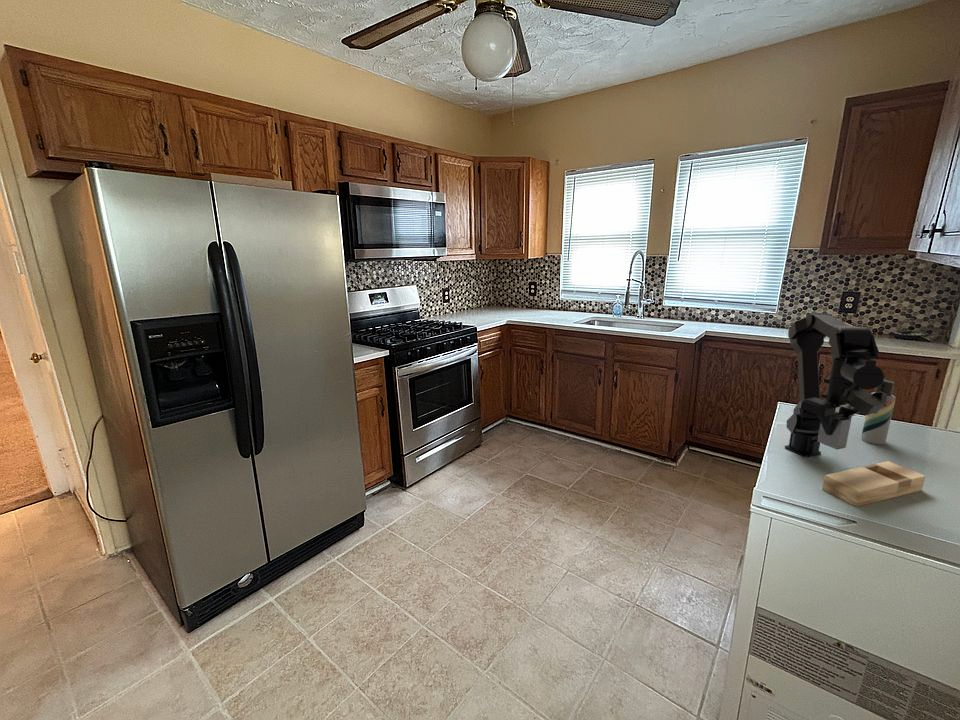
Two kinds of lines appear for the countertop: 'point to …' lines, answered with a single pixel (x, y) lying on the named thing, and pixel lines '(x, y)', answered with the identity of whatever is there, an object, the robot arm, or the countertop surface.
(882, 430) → the lotion bottle
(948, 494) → the countertop surface
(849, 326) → the robot arm
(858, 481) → the slotted wooden block
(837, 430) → the grey gripped block
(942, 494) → the countertop surface
